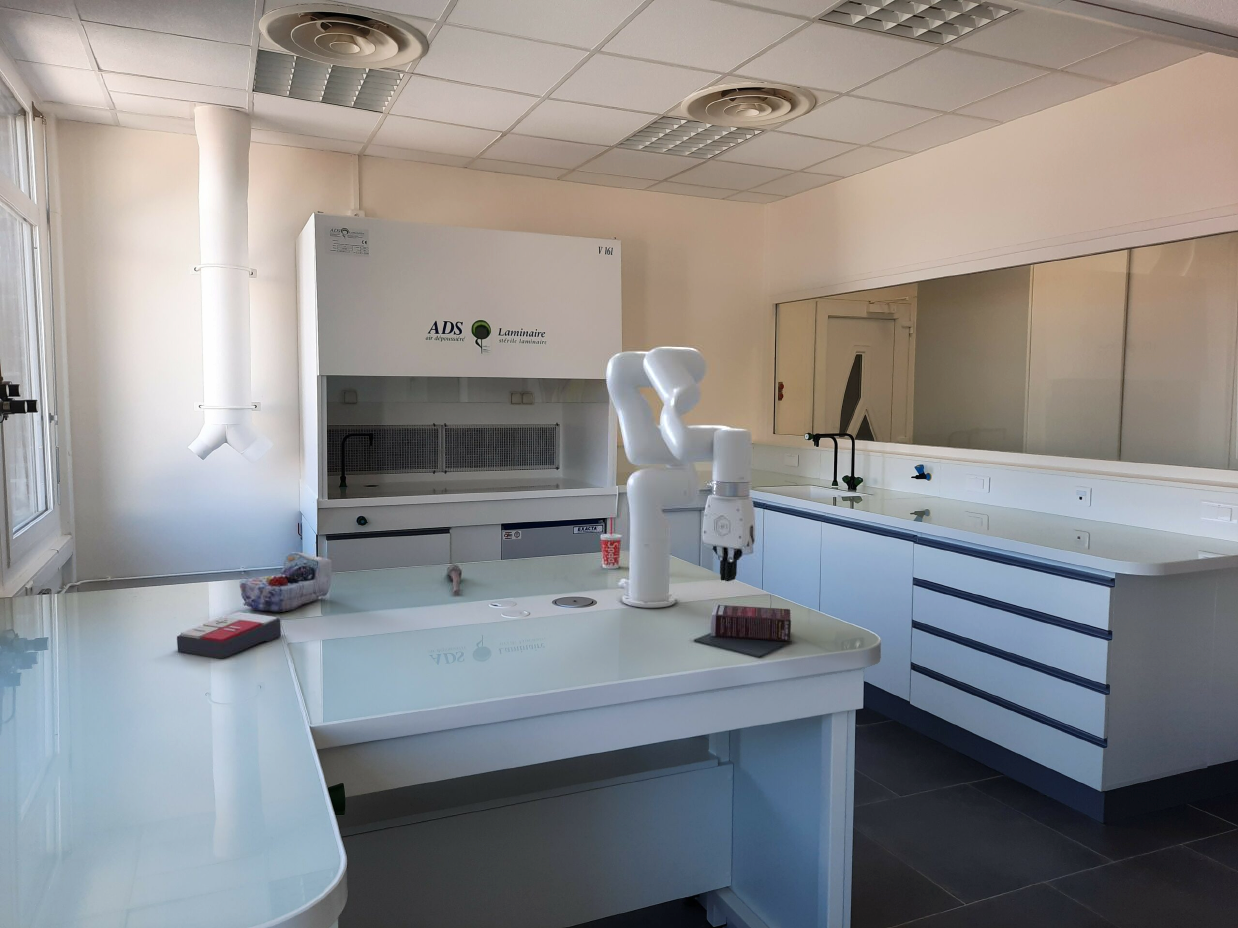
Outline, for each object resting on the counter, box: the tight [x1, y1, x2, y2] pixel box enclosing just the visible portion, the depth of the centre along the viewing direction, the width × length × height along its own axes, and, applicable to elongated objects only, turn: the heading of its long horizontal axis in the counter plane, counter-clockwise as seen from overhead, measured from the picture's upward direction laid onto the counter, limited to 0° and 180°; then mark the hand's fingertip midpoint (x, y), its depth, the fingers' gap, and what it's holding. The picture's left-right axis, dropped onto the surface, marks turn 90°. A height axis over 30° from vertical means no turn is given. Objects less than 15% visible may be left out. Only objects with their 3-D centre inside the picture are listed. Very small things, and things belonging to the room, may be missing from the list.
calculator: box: [176, 611, 282, 660], centre depth 160 cm, size 11×4×15 cm
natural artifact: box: [445, 564, 463, 596], centre depth 211 cm, size 4×23×4 cm
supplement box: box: [710, 604, 792, 641], centre depth 172 cm, size 9×5×16 cm
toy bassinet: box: [239, 551, 333, 613], centre depth 188 cm, size 13×11×20 cm
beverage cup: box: [600, 517, 623, 570], centre depth 234 cm, size 6×6×14 cm
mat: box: [693, 632, 793, 658], centre depth 168 cm, size 15×13×1 cm
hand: (727, 579), depth 169 cm, fingers closed
